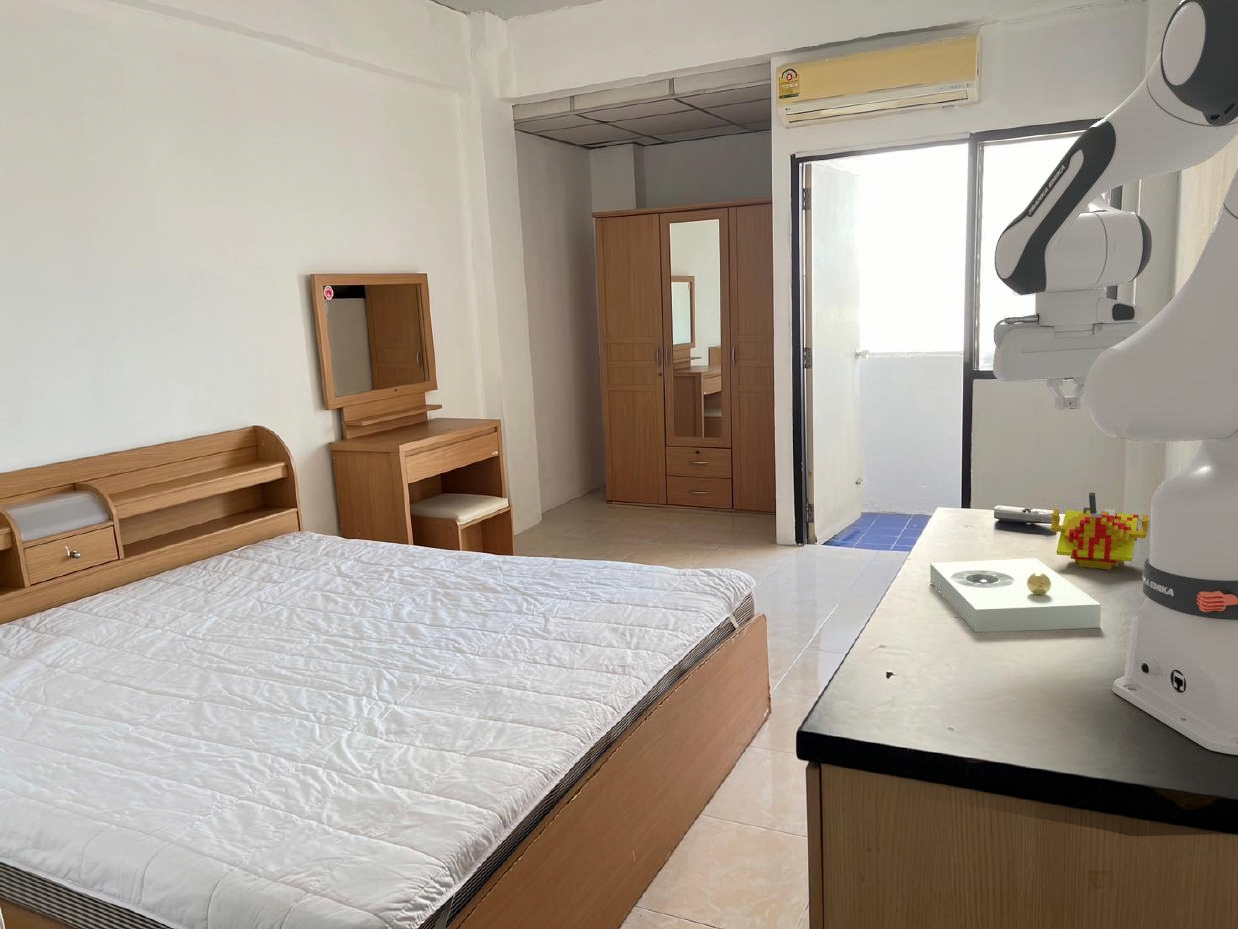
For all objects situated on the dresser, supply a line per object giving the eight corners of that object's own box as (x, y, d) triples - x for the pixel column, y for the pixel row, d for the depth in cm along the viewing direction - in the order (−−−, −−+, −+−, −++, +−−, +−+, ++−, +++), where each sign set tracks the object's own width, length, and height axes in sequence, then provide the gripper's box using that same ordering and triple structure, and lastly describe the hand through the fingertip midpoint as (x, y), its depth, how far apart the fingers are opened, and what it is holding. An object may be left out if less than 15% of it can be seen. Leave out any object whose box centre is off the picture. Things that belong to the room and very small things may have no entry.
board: (1100, 627, 119) (1100, 604, 119) (975, 632, 121) (976, 609, 120) (1035, 578, 141) (1035, 558, 140) (930, 582, 142) (930, 563, 142)
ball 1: (996, 603, 132) (999, 583, 131) (975, 602, 132) (978, 582, 131) (989, 596, 134) (991, 577, 134) (968, 595, 135) (971, 576, 134)
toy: (1150, 545, 147) (1148, 476, 139) (1144, 589, 141) (1141, 519, 133) (1059, 538, 155) (1052, 472, 147) (1049, 579, 149) (1041, 512, 141)
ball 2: (1054, 597, 123) (1054, 576, 122) (1031, 598, 123) (1031, 577, 122) (1045, 590, 126) (1045, 569, 125) (1023, 591, 126) (1023, 570, 125)
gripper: (1001, 317, 126) (1001, 415, 128) (1154, 307, 124) (1151, 407, 127) (986, 316, 132) (986, 410, 134) (1132, 307, 130) (1129, 402, 133)
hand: (1067, 408), depth 130 cm, fingers closed
